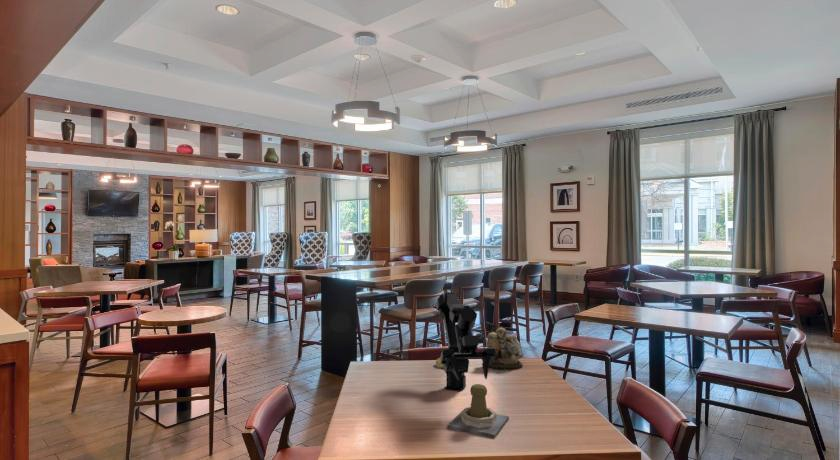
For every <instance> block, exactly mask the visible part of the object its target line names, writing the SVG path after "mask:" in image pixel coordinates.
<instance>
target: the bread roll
mask: <svg viewBox="0 0 840 460" xmlns="http://www.w3.org/2000/svg"><path fill="white" fill-rule="evenodd" d="M443 365H444V364H441V361H440V357H438V358H436V360H435V366H436V368H439V369H444V366H443Z"/></svg>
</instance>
